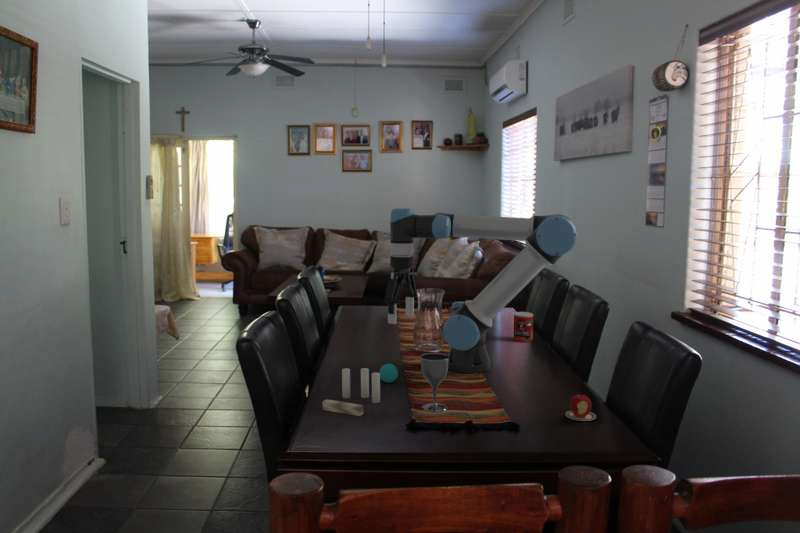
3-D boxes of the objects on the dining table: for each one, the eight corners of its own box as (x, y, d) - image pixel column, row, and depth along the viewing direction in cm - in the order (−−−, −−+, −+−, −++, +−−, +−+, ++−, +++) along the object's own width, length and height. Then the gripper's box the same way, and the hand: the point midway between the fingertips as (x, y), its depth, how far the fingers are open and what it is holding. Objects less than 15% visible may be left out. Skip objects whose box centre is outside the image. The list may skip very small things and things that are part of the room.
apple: (602, 418, 177) (603, 395, 176) (581, 424, 172) (582, 400, 171) (579, 410, 183) (580, 387, 182) (559, 415, 179) (560, 392, 178)
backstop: (363, 413, 180) (363, 405, 180) (359, 416, 179) (359, 407, 178) (326, 407, 186) (326, 399, 185) (322, 409, 184) (322, 401, 183)
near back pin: (381, 401, 191) (381, 372, 190) (377, 403, 189) (377, 375, 188) (374, 399, 192) (374, 371, 191) (370, 402, 190) (370, 374, 189)
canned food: (511, 341, 263) (512, 314, 261) (515, 337, 270) (516, 311, 269) (530, 343, 260) (531, 316, 259) (534, 338, 267) (534, 312, 266)
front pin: (370, 396, 195) (370, 368, 194) (366, 398, 193) (366, 370, 192) (363, 395, 196) (363, 367, 195) (359, 397, 194) (359, 369, 193)
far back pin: (351, 396, 195) (351, 368, 194) (347, 398, 193) (347, 371, 192) (344, 395, 196) (344, 368, 195) (340, 397, 194) (340, 370, 193)
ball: (401, 380, 211) (401, 362, 210) (393, 386, 205) (392, 367, 204) (384, 378, 213) (384, 360, 212) (376, 383, 208) (375, 365, 207)
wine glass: (440, 414, 180) (440, 361, 178) (415, 409, 184) (415, 357, 182) (453, 406, 187) (453, 355, 185) (429, 401, 191) (429, 351, 189)
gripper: (407, 251, 226) (406, 312, 228) (373, 258, 203) (373, 325, 206) (427, 252, 222) (426, 314, 225) (395, 260, 200) (394, 328, 203)
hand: (401, 319), depth 216 cm, fingers open, 12 cm apart
